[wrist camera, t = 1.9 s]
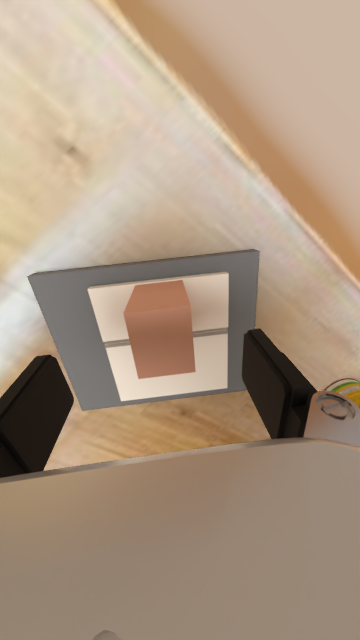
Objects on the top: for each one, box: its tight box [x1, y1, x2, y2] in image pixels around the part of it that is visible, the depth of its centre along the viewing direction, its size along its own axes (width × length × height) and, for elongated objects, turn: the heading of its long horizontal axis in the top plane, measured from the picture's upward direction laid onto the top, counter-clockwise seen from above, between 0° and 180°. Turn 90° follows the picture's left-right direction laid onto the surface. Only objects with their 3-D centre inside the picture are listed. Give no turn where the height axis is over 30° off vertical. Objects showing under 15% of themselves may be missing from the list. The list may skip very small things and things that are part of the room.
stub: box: [88, 272, 229, 379], centre depth 17 cm, size 5×12×7 cm, turn 95°
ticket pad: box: [27, 249, 260, 411], centre depth 22 cm, size 16×20×2 cm
